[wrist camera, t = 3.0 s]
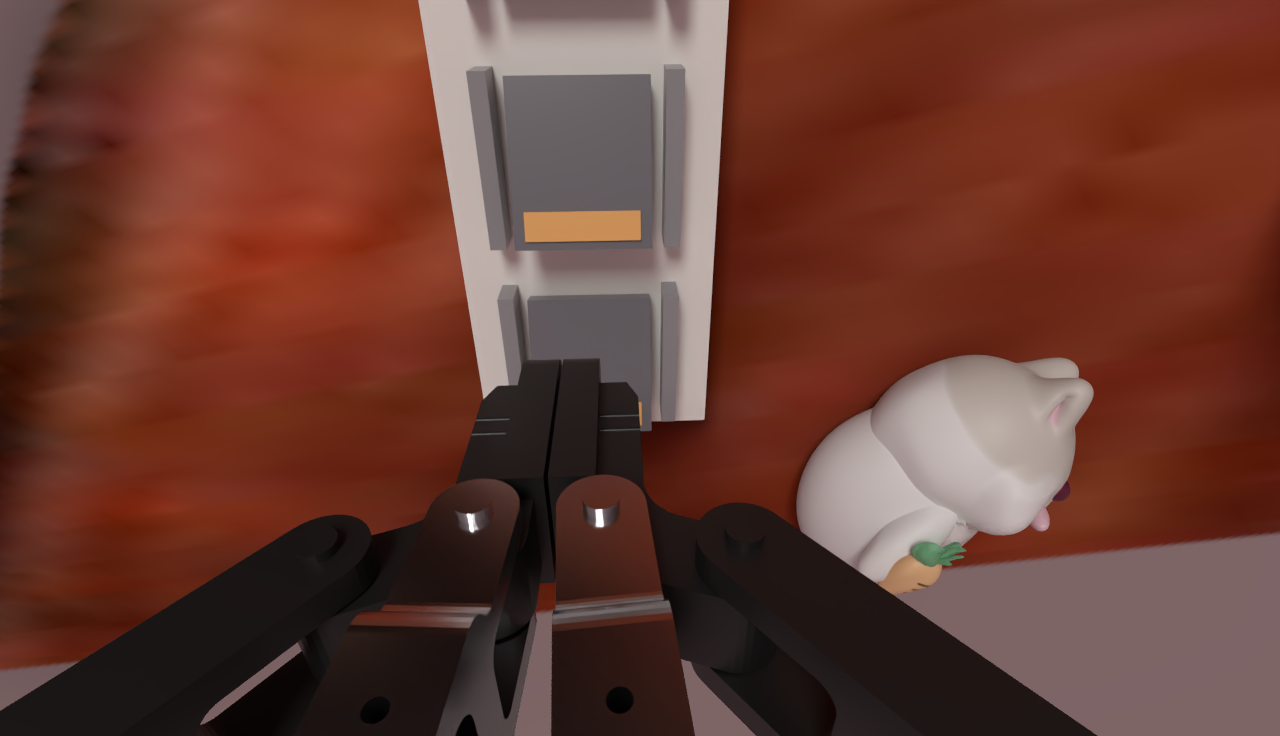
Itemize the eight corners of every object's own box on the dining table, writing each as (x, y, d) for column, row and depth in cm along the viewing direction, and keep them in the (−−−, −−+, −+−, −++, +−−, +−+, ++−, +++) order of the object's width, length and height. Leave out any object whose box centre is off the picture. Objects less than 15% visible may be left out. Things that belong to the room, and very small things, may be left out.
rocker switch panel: (400, -273, 19) (348, -335, 15) (729, -272, 19) (757, -333, 16) (498, 389, 32) (482, 444, 28) (696, 384, 32) (708, 438, 28)
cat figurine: (848, 663, 29) (1190, 495, 22) (732, 526, 30) (1022, 321, 23) (872, 558, 37) (1126, 411, 30) (781, 453, 38) (1005, 286, 31)
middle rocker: (507, 80, 21) (501, 75, 20) (649, 78, 21) (651, 73, 20) (519, 247, 23) (514, 250, 22) (650, 245, 23) (652, 248, 22)
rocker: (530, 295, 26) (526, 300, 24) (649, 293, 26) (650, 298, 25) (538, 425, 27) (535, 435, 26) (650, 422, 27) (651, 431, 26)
